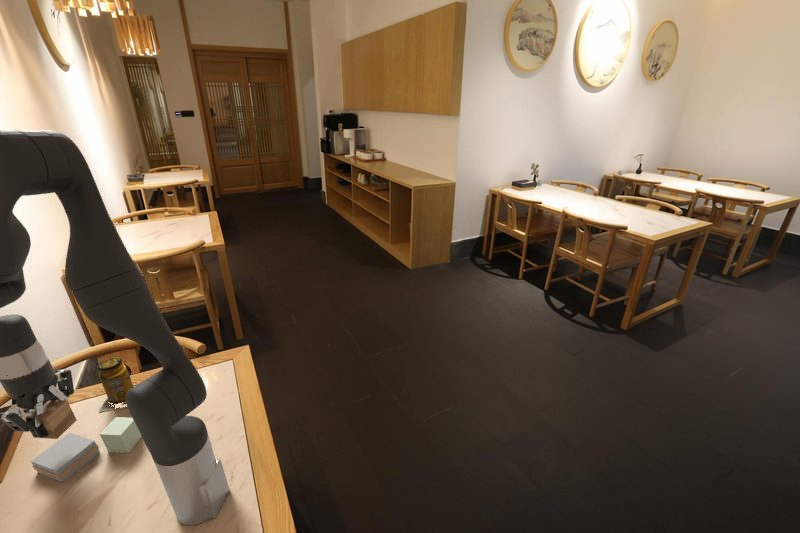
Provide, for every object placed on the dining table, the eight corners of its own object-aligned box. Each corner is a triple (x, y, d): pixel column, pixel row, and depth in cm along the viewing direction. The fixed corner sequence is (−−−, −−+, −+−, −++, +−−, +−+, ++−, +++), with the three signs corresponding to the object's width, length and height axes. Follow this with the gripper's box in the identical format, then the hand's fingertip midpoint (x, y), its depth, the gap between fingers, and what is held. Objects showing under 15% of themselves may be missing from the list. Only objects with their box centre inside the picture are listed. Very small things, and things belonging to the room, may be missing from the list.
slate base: (101, 452, 87) (95, 440, 85) (63, 484, 80) (55, 471, 78) (76, 443, 89) (70, 431, 87) (36, 473, 82) (29, 461, 80)
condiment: (141, 385, 107) (128, 352, 102) (129, 407, 99) (115, 373, 94) (112, 390, 105) (98, 356, 100) (98, 412, 97) (82, 377, 92)
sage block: (143, 435, 91) (135, 417, 88) (128, 453, 86) (120, 435, 84) (123, 434, 91) (115, 417, 89) (108, 452, 87) (99, 434, 84)
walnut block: (76, 420, 83) (67, 400, 80) (57, 438, 78) (46, 418, 76) (55, 419, 83) (45, 399, 80) (34, 437, 79) (23, 417, 76)
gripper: (3, 392, 66) (40, 455, 74) (71, 343, 79) (97, 402, 87) (-36, 390, 67) (5, 453, 74) (38, 342, 80) (67, 400, 87)
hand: (55, 425), depth 80 cm, fingers closed on walnut block, 5 cm apart
